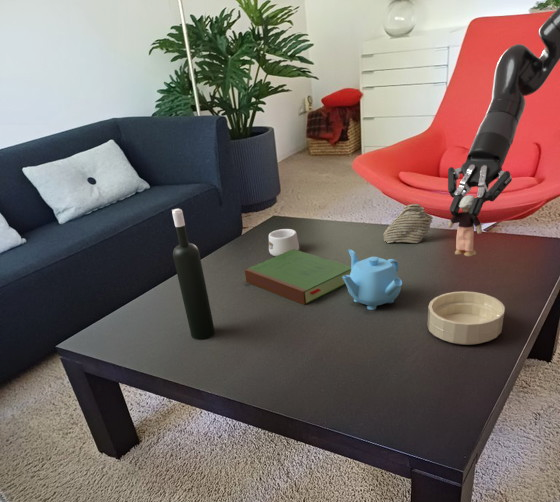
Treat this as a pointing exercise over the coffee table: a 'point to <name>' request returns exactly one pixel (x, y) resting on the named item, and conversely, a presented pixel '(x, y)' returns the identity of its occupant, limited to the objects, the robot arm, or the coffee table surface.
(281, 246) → the mug
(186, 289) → the wine bottle
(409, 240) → the fossil tooth
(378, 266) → the teapot
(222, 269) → the coffee table surface
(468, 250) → the grandmother figurine
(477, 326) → the bowl
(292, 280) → the hardcover book
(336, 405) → the coffee table surface
